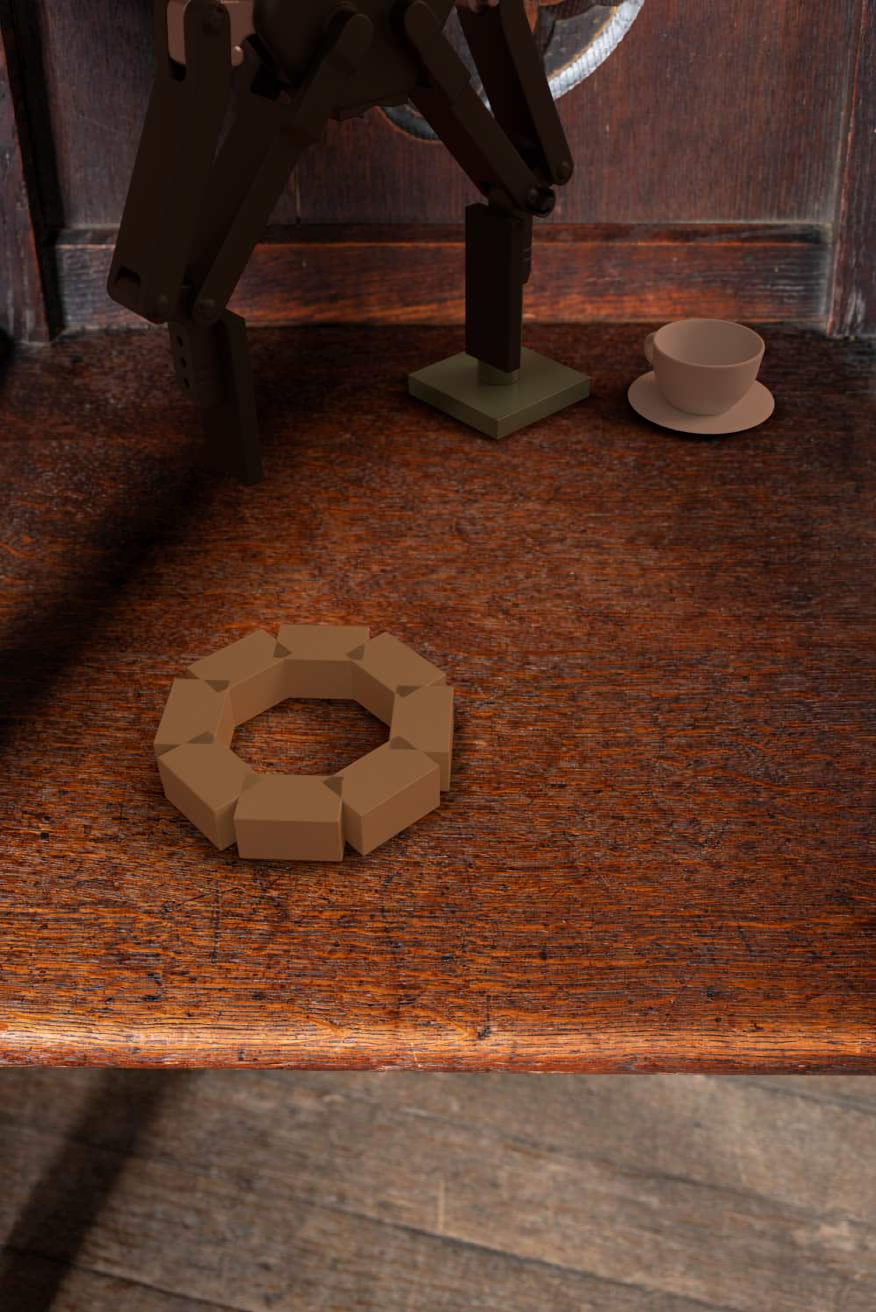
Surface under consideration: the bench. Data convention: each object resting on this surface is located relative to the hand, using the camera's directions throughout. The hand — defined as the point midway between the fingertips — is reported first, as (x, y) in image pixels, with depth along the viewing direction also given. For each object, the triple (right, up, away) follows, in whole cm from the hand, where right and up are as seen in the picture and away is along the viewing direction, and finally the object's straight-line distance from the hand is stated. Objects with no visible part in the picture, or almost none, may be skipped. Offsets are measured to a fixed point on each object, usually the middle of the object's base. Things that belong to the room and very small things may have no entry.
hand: (372, 413), depth 52 cm
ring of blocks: (-3, -15, +9) cm, 18 cm away
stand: (+7, +8, +37) cm, 39 cm away
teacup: (+21, +7, +36) cm, 42 cm away
